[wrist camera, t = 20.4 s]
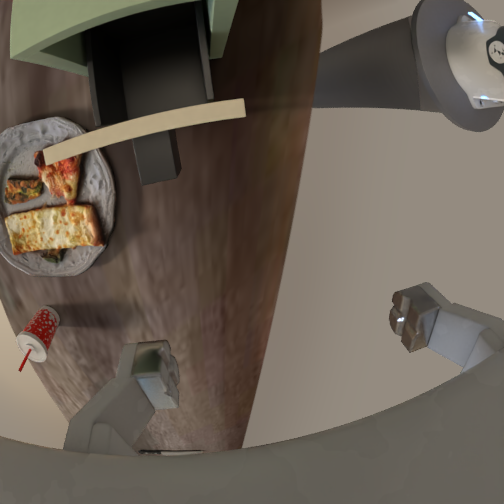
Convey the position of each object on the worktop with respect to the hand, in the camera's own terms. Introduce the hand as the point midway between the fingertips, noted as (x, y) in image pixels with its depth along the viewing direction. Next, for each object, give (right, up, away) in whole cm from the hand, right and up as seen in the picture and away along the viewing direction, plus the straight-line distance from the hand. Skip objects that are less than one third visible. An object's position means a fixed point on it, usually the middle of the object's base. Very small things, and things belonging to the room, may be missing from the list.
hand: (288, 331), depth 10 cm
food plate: (-31, +11, +25) cm, 41 cm away
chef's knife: (-24, -54, +57) cm, 83 cm away
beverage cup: (-38, -9, +33) cm, 51 cm away
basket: (-12, +22, +20) cm, 32 cm away
